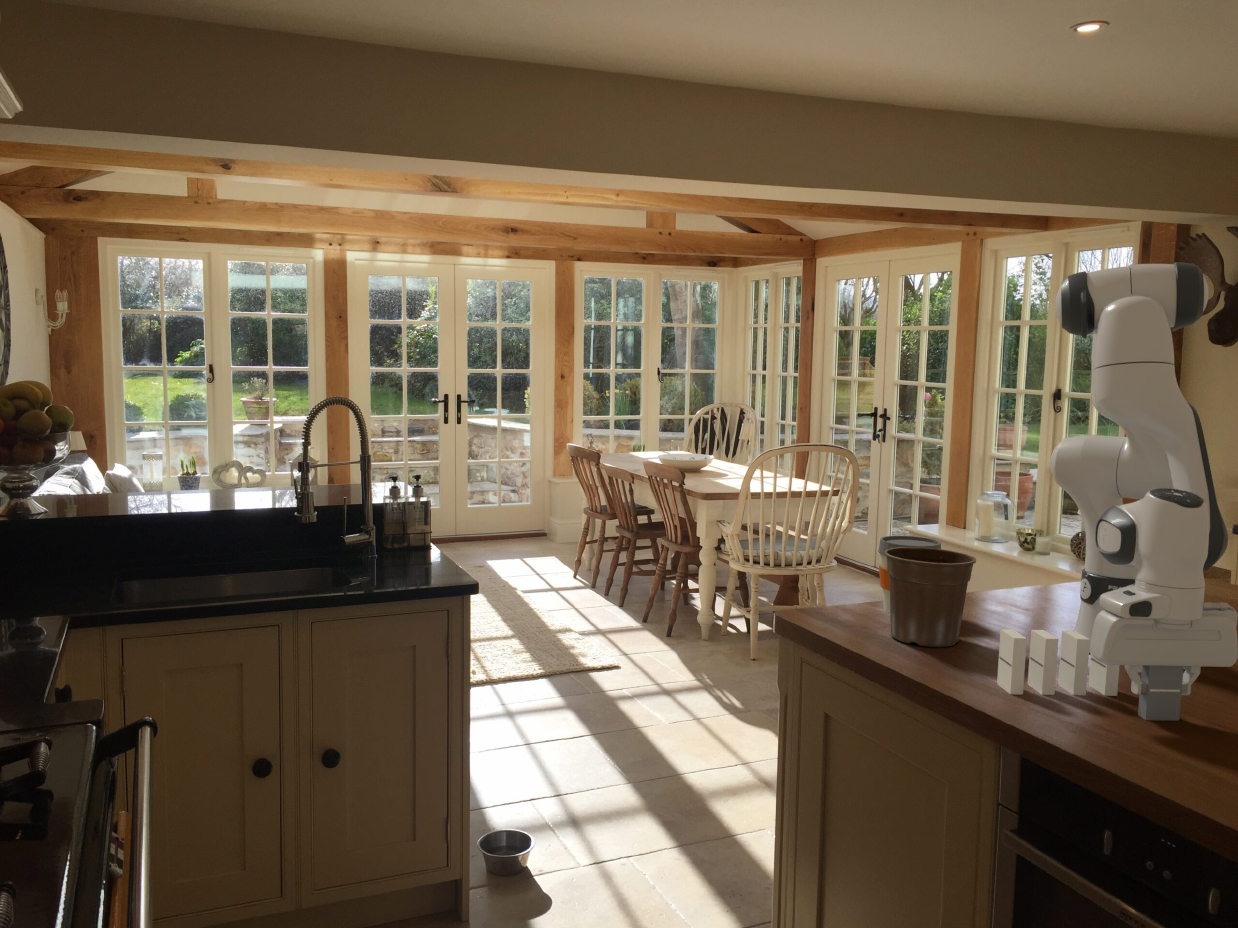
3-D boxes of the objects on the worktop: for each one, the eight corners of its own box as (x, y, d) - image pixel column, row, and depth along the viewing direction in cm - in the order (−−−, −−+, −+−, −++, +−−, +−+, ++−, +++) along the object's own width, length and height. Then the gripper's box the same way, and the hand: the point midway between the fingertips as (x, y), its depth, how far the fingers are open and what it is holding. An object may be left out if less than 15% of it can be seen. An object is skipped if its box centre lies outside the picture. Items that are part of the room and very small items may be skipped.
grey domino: (1137, 714, 144) (1142, 655, 143) (1170, 715, 145) (1175, 656, 144) (1145, 720, 142) (1150, 660, 141) (1179, 720, 142) (1184, 660, 142)
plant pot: (933, 624, 193) (937, 544, 191) (990, 647, 178) (995, 560, 176) (863, 630, 187) (867, 548, 186) (915, 654, 172) (920, 565, 171)
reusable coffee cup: (890, 601, 211) (894, 533, 210) (947, 611, 203) (951, 540, 202) (865, 611, 202) (868, 540, 200) (923, 623, 194) (928, 549, 192)
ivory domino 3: (1070, 684, 158) (1074, 630, 157) (1085, 695, 153) (1090, 639, 152) (1057, 684, 158) (1061, 630, 157) (1073, 695, 153) (1077, 639, 152)
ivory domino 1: (1009, 683, 157) (1013, 629, 156) (1023, 694, 152) (1026, 638, 151) (996, 683, 157) (1000, 629, 156) (1010, 694, 152) (1013, 638, 151)
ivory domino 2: (1039, 684, 158) (1043, 630, 157) (1054, 694, 153) (1058, 638, 152) (1027, 684, 157) (1031, 629, 157) (1041, 694, 152) (1045, 638, 152)
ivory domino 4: (1100, 685, 158) (1104, 630, 157) (1117, 695, 153) (1121, 639, 152) (1088, 684, 158) (1092, 630, 157) (1104, 695, 153) (1108, 639, 152)
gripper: (1223, 597, 145) (1215, 687, 147) (1088, 595, 144) (1082, 685, 146) (1252, 608, 139) (1243, 701, 140) (1111, 605, 138) (1104, 700, 140)
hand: (1160, 693), depth 143 cm, fingers closed on grey domino, 5 cm apart
